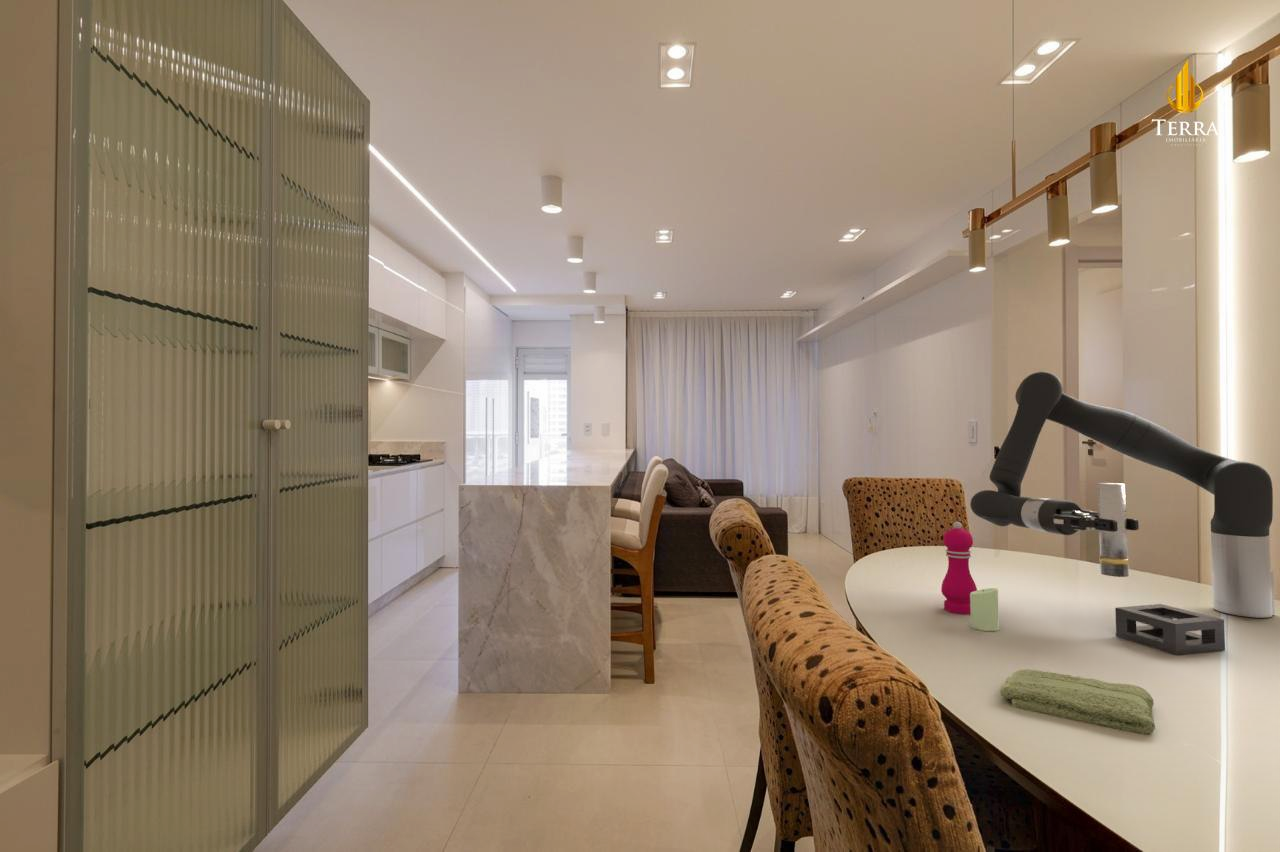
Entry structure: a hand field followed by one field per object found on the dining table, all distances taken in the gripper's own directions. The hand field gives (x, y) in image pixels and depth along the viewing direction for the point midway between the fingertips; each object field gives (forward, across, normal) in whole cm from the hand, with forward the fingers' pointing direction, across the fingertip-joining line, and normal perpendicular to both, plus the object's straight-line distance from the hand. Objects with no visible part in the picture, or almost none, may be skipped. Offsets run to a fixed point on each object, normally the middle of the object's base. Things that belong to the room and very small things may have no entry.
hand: (1126, 525), depth 118 cm
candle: (-12, -22, +22) cm, 33 cm away
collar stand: (+4, +4, +22) cm, 22 cm away
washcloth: (+22, -37, +22) cm, 48 cm away
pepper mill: (-24, -18, +22) cm, 37 cm away
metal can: (-3, 0, +10) cm, 10 cm away
